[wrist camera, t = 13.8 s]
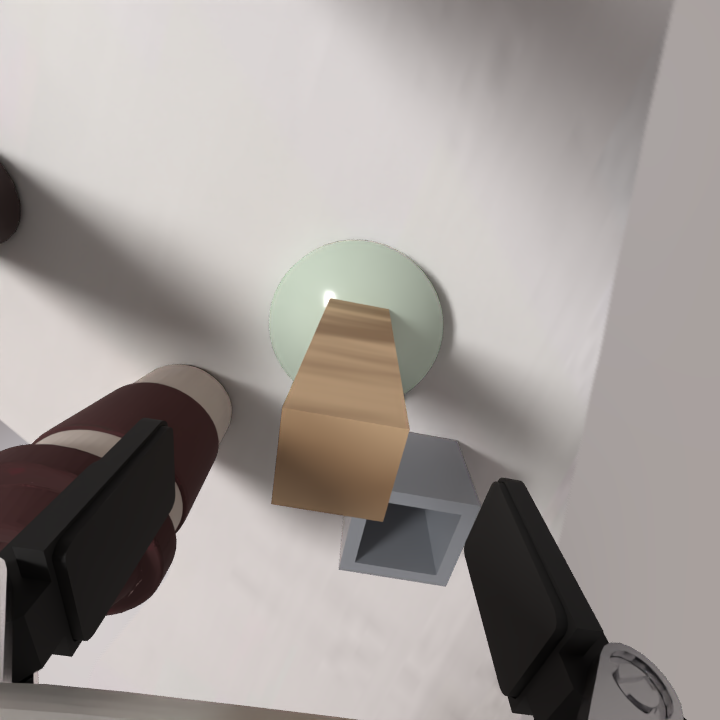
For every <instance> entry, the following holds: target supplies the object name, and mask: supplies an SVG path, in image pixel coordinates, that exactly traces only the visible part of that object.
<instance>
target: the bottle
mask: <svg viewBox="0 0 720 720" xmlns="http://www.w3.org/2000/svg"><path fill="white" fill-rule="evenodd" d="M19 219H20V205H19V198H18V195H17V192H16V189H15V186H14V183H13V181H12V180H11V178H10V177H9V175H8V173H7V172H6V170H5V169H4V167H3V165H2V164H1V163H0V243H2V242H5V241H7V240H8V239H9V238H10V237H11V235H12V234H13V233H14V232H15V231H16V228H17V225H18V222H19Z"/></svg>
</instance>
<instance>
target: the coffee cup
mask: <svg viewBox="0 0 720 720" xmlns="http://www.w3.org/2000/svg"><path fill="white" fill-rule="evenodd" d="M231 417H232V407H231V402H230V399H229V396H228V394H227V392H226V391H225V389H224V388H223V386H222V385H221V384H220V383H219V382H218V381H217V380H216V379H215V378H214V377H213V376H211V375H210V374H208V373H207V372H205V371H203V370H201V369H199V368H196V367H192V366H188V365H181V364H174V365H167V366H163V367H160V368H158V369H155V370H154V371H152V372H150V373H149V374H147V375H146V376H144V377H142V378H141V379H139V380H138V381H136V382H134V383H133V384H129V385H126V386H123V387H121V388H119V389H117V390H115V391H113V392H112V393H110V394H108V395H107V396H105V397H103V398H102V399H100V400H98V401H97V402H95V403H93V404H92V405H90V406H88V407H87V408H85V409H83V410H82V411H80V412H78V413H77V414H75V415H73V416H72V417H70V418H68V419H67V420H65V421H63V422H62V423H60V424H58V425H57V426H55V427H53V428H52V429H50V430H48V431H47V432H45V433H44V434H42V435H41V436H40V437H39V438H38V439H36V440H35V441H34V442H33V443H32V444H28V445H20V446H16V447H11V448H8V449H5V450H3V451H0V551H1V550H2V549H3V548H4V547H5V546H6V545H7V544H8V543H9V542H11V541H12V540H13V539H14V538H15V537H16V536H17V535H18V534H19V533H20V532H21V531H22V530H23V529H24V528H25V527H26V526H27V525H28V524H29V523H30V522H31V521H32V520H33V519H34V518H35V517H36V516H37V515H38V514H39V513H40V512H41V511H42V510H44V509H45V508H46V507H47V506H48V505H49V504H50V503H51V502H52V501H53V500H54V499H55V498H56V497H57V496H58V495H59V494H60V493H61V492H62V491H63V490H64V489H65V488H66V487H67V486H68V485H69V484H70V483H71V482H72V481H73V480H74V479H75V478H77V477H78V476H79V475H80V474H81V473H82V472H83V471H84V470H85V469H86V468H87V467H88V466H89V465H91V464H92V463H93V462H96V461H99V460H100V459H101V458H102V457H103V456H104V455H105V454H106V453H107V452H108V451H109V450H110V449H111V448H112V447H113V446H114V445H115V444H116V443H117V442H118V441H119V440H120V439H121V438H122V437H123V436H124V435H125V434H126V433H127V432H128V431H129V430H130V429H131V428H132V427H133V426H134V425H135V424H136V423H137V422H138V421H139V420H141V419H142V418H151V419H157V420H163V421H166V422H167V424H168V427H171V428H172V429H173V438H174V466H175V495H176V496H175V502H174V505H173V508H172V510H171V512H170V513H169V515H168V516H167V518H166V520H165V521H164V523H163V524H162V526H161V528H160V529H159V531H158V532H157V534H156V536H155V537H154V539H153V540H152V542H151V544H150V545H149V547H148V548H147V550H146V552H145V553H144V555H143V556H142V558H141V560H140V561H139V563H138V564H137V566H136V568H135V569H134V571H133V573H132V574H131V576H130V577H129V579H128V581H127V582H126V584H125V585H124V587H123V589H122V590H121V592H120V593H119V595H118V597H117V598H116V600H115V601H114V603H113V605H112V606H111V608H110V609H109V611H108V613H107V614H106V616H107V615H113V614H118V613H122V612H125V611H127V610H129V609H132V608H135V607H136V606H138V605H140V604H141V603H143V602H145V601H146V600H147V599H149V598H150V597H151V596H152V595H153V594H154V592H155V591H156V590H157V588H158V587H159V585H160V583H161V581H162V580H163V578H164V576H165V574H166V572H167V571H168V569H169V567H170V565H171V563H172V561H173V558H174V555H175V551H176V533H177V532H178V530H179V529H180V528H181V526H182V525H183V523H184V521H185V520H186V518H187V516H188V514H189V512H190V510H191V508H192V505H193V503H194V501H195V499H196V497H197V495H198V493H199V491H200V489H201V487H202V485H203V483H204V481H205V479H206V477H207V475H208V473H209V471H210V469H211V467H212V465H213V463H214V461H215V459H216V456H217V453H218V448H219V444H220V442H221V440H222V438H223V436H224V434H225V433H226V431H227V429H228V427H229V424H230V421H231Z"/></svg>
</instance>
